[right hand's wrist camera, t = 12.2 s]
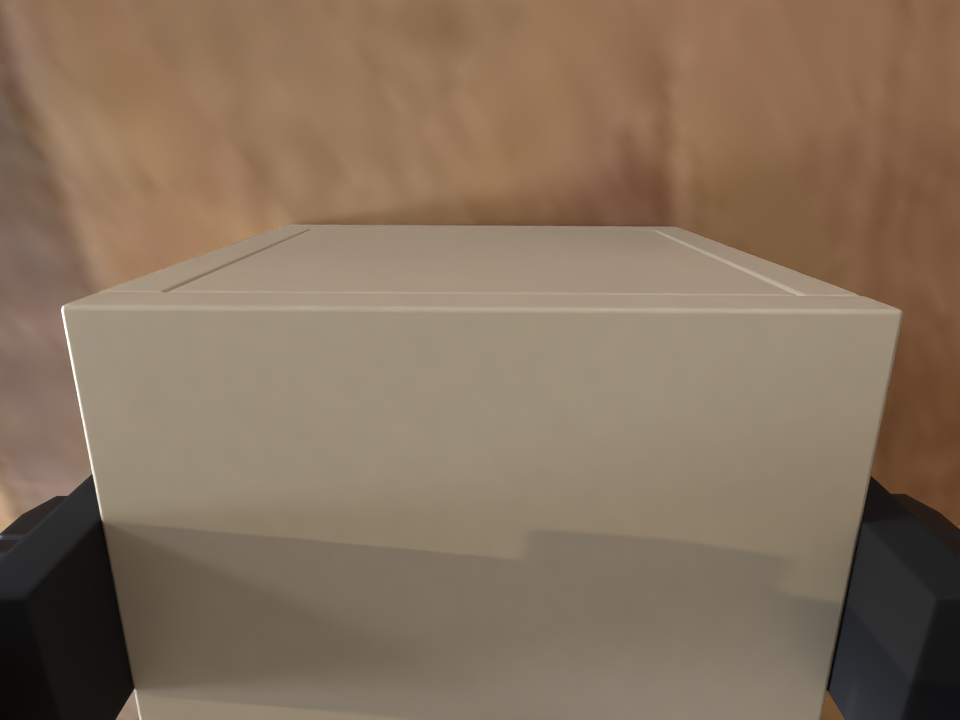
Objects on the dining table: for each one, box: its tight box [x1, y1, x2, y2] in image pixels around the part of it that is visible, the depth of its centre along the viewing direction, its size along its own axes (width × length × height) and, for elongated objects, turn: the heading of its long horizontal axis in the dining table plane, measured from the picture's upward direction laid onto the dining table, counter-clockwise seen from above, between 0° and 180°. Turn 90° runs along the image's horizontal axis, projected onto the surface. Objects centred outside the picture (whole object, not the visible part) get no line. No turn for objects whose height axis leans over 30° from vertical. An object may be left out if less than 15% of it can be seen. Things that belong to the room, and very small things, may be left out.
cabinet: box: [61, 225, 903, 720], centre depth 15 cm, size 21×10×9 cm, turn 0°
